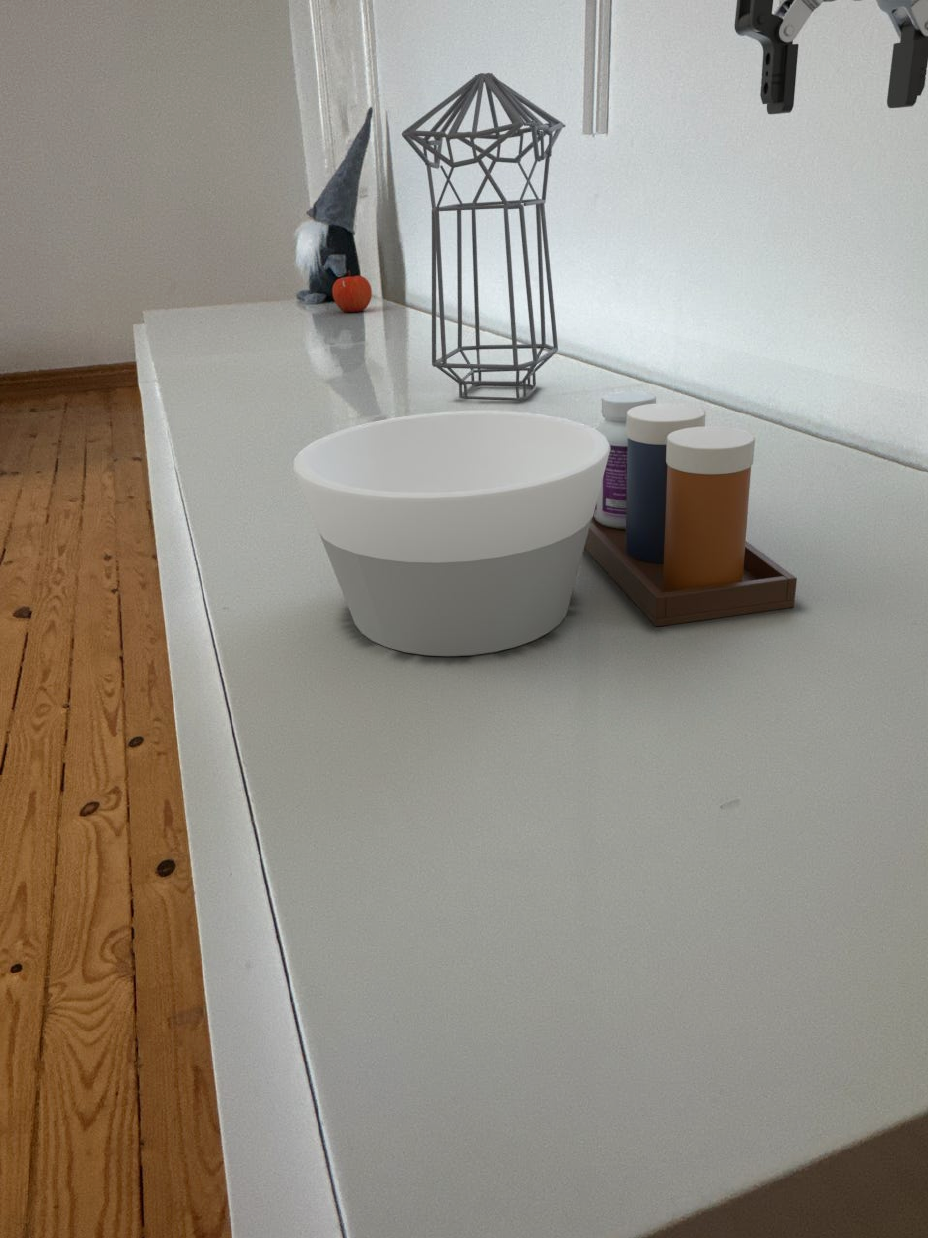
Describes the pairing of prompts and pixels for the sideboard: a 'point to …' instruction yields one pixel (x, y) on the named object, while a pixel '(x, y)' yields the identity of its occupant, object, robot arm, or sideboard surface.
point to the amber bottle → (706, 506)
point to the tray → (644, 586)
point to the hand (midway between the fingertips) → (841, 110)
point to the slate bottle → (651, 473)
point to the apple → (352, 293)
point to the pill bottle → (616, 455)
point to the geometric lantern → (514, 111)
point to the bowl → (455, 524)
